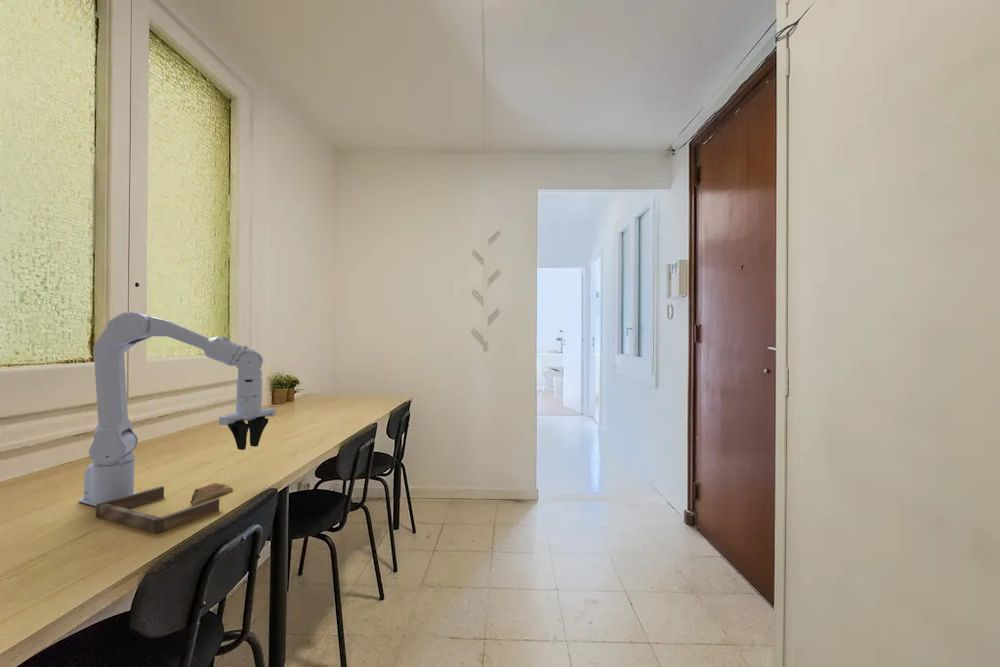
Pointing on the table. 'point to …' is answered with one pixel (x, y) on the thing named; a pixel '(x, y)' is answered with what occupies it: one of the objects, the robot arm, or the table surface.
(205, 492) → the shard
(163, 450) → the table surface
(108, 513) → the frame
